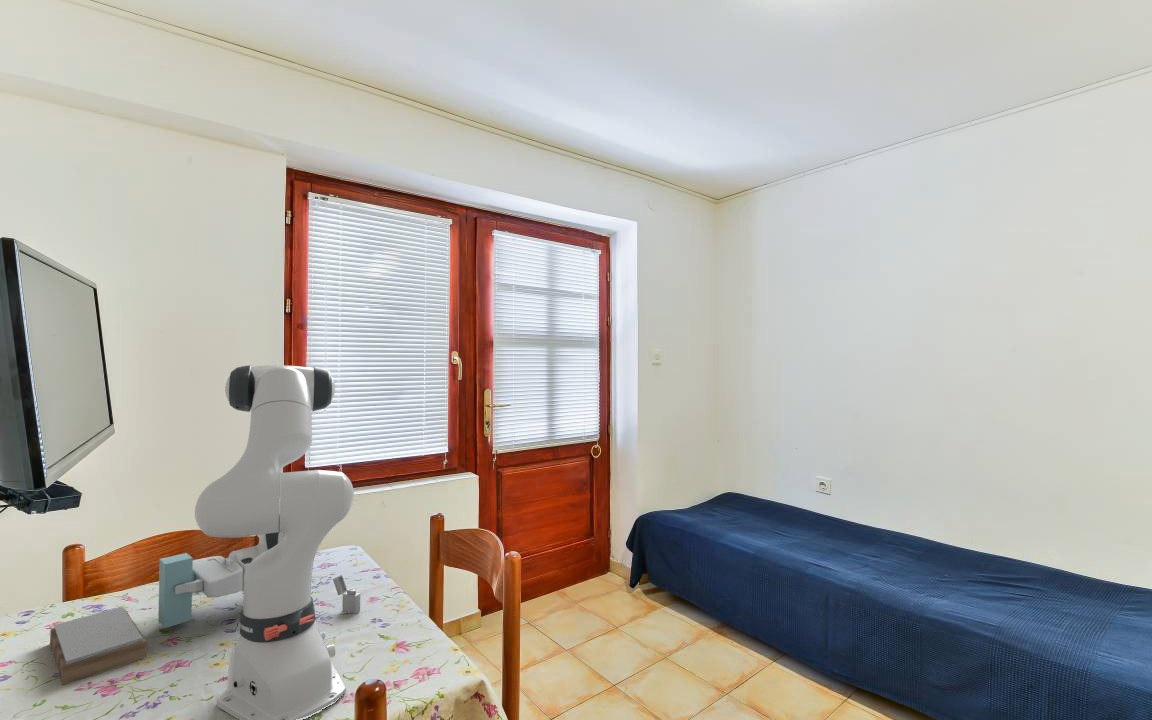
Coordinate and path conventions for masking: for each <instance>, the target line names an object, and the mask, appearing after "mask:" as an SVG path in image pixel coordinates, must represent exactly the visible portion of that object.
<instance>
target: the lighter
mask: <svg viewBox="0 0 1152 720" xmlns="http://www.w3.org/2000/svg"><path fill="white" fill-rule="evenodd" d="M332 582H333V584H334V587H335V590H336V593H337V595H338V596H340V595H342V605H341V606H342V609H341V610H342V613H348V614H352V615H353V614H354V615H357V614H359V612H361V593H360V592H357V589H356V588H348V589H347V586H346V582H345V579H344V576H343V575H338V576H336V577H334V578H333V579H332Z"/></svg>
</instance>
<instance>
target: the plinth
mask: <svg viewBox="0 0 1152 720" xmlns="http://www.w3.org/2000/svg"><path fill="white" fill-rule="evenodd" d="M49 633H50V634H49V645H51V646H50V648H52V649H51V653H52V652H53V653H52V655H53V660H54V659H55V660H54V662H55V666H57V667H56V670H57V673H58V676H59V679H60V684H61V686H64V684H65V685H67V684H70V683H73V682H77V681H80V680H82V679H85V678H89V677H92V676H94V675H97V674H100V673H103V672H106V671H109V670H112V669H115V668H118V667H121V666H124V665H128V664H131V663H133V662H137V661H139V660H143V659H146V658H147V640H146V639H145V637H144V636H143V634H142V632H141V631H140V629H139V628H138V626H137V625H136V623H135V621H134V620H133V618H132V617H131V616H130V614H129V613H128V611H127V609H125V608H124V606H120V607H117V608H113V609H109V610H104V611H102V612H98V613H93V614H90V615H87V616H83V617H79V618H75V619H71V620H68V621H63V622H61V623H57V624H54V625H53V627H52V628H50V631H49Z"/></svg>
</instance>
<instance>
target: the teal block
mask: <svg viewBox="0 0 1152 720" xmlns="http://www.w3.org/2000/svg"><path fill="white" fill-rule="evenodd" d="M193 560H194V558H193V557H192V556H191V555H190V554H188V552H185V553H181V554H175V555H172V556H167V557H161V558H159V566H158V567H159V569H158V570H159V571H158V572H159V574H158V575H159V576H158V577H159V578H158V579H159V580H158V612H157V613H158V614H157V616H158V618H157V619H158V624H160V625H161V626H162V628H163V629H165V628H169V627H172V626H176V625H179V624H182V623H185V622H188V621H189V622H190V621H192V611H193V610H192V609H193V607H192V605H193V600H192V599H193V592H184V593H180V594H176V593H175V592H174V586H175V585H176V584H180V583H189V582H192V566H193Z"/></svg>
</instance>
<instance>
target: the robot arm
mask: <svg viewBox="0 0 1152 720" xmlns="http://www.w3.org/2000/svg"><path fill="white" fill-rule="evenodd" d="M335 383H336V382H335V380H334V378H333V375H332V373H331V372H330V371H329V370H328V369H327V368H324V367H317V366H313V367H308V366H300V365H299V366H298V365H283V364H267V365H266V364H265V365H256V366H252V365H251V364H250V365H244V366H243V365H242V366H238V367H236V368H234V369H233V370H232V371H230V373H229V376H228V378H227V379H226V382H225V386H224V390H225V391H224V392H225V397H226V398H227V400H228V403H229V404H228V405H229V406H231V407H232V408H233V409H235V411H236V410H237V411H239V412H240V411H241V412H247V413H250V412H251V413H250V425H249V432H248V438H247V443H246V446H245V450H244V452H243V454H242V456H241V457H240V458H239V460H238V461H237V462H236V463H235V464H234V466H233V467H231V469H229V470H228V471H227V472H226V473H225V474H223V475H222V476H220V477H219V478H217V479H216V480H214V481H212V482H210V483H209V484H208V485H207V486H206V487H205V488H204V489H203V490H202V492H201V493H200V495H199V496H198V498H197V500H196V502H195V508H194V518H195V522H196V523H197V524H196V525H197V526H198V528H199V529H200V530H201V532H202V533H204V535H206V536H208V537H212V538H244V537H253V536H257V537H258V539H259V540H258V543H257V545H254V546H251V547H250V546H249V547H246V548H242V549H237V550H233V551H231V552H230V553H229V555H228V557H226V558H225V557H224V556H222V555H216V556H215V555H214V556H209V557H204V558H203V557H202V558H199V559H193V566H192V582H189V583H180V584H176V585H175V586H174V592H175V593H176V594H180V593H184V592H192V593H196V592H202V593H203V594H204V595H205V596H206V597H207V598H209V599H211V598H220V597H224V596H229V595H232V594H236V593H239V592H240V593H241V591H242V592H243V593H242V594H243V598H242V603H243V604H242V609H241V612H240V615H239V616H240V617H239V620H238V626H239V635H240V637H239V639H238V641H237V642H236V644H235V645H234V646H233V647H232V649H231V651H230V653H229V659H228V670H227V683H226V689H225V691H223V693H221V694H220V695H219V696H218V697H217V698H216V707H218V708H219V709H221V710H223V711H225V712H226V713H227V714H230V715H231V716H233V717H234V718H235V719H238V718H239V719H241V720H296V719H300V718H303V717H306V716H309V715H311V714H313V713H315V712H317V711H319V710H321V709H322V708H324V707H326V706H328V705H329V704H331V703H332V702H335V701H336V700H337V699H338V698H340V697H341V696H342V695H343V694H344V693H345V692H346V693H347V690H346V689H347V688H346V686H345V683H344V682H343V681H344V680H343V679H342V678H341V676H340V674H339V672H338V671H337V669H336V667H335V666H334V664H333V662H332V658H334V657H335V656H336V647H335V645H334V644H335V643H330V644H327V645H326V643H325V641H324V639H326V633H325V631H321V630H320V628H319V627H318V623H317V620H316V619H317V618H316V607H315V604H314V599H313V597H312V578H313V569H314V568H313V567H314V561H315V557H316V555H317V552H318V549H319V547H320V546H321V543H322V542H323V540H324V539H325V537H326V536H327V535H328V534H329V532H330V531H331V530H332V529H333V528H334V527H335V526H336V525H337V524H339V523H340V522H342V520H343V519H344V518H346V516H348V514H349V513H350V511H351V509H352V506H353V504H354V500H355V498H354V497H355V490H354V486H353V484H352V481H351V479H350V478H349V477H348V476H347V475H346V474H345V473H344V472H343V471H336V470H335V471H334V470H322V469H314V470H313V469H312V470H299V471H291V472H290V471H287V472H283V468H284V467H286V466H288V465H289V464H292V463H294V462H295V461H298V460H299V459H301V458H302V457H303V456H304V455H305V454H306V453H307V452H308V451H309V450H310V448H311V445H312V441H313V440H312V437H313V434H312V433H313V431H312V430H313V427H312V426H313V425H312V424H313V423H312V420H313V419H312V414H313V412H315V411H321V410H324V409H325V408H328V406H330V405H331V403H332V401H333V399H334V396H335V393H336V384H335ZM346 693H345V694H346ZM345 694H344V695H345ZM344 695H343V696H344ZM340 699H341V698H340ZM335 703H336V702H335ZM239 719H238V720H239Z"/></svg>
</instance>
